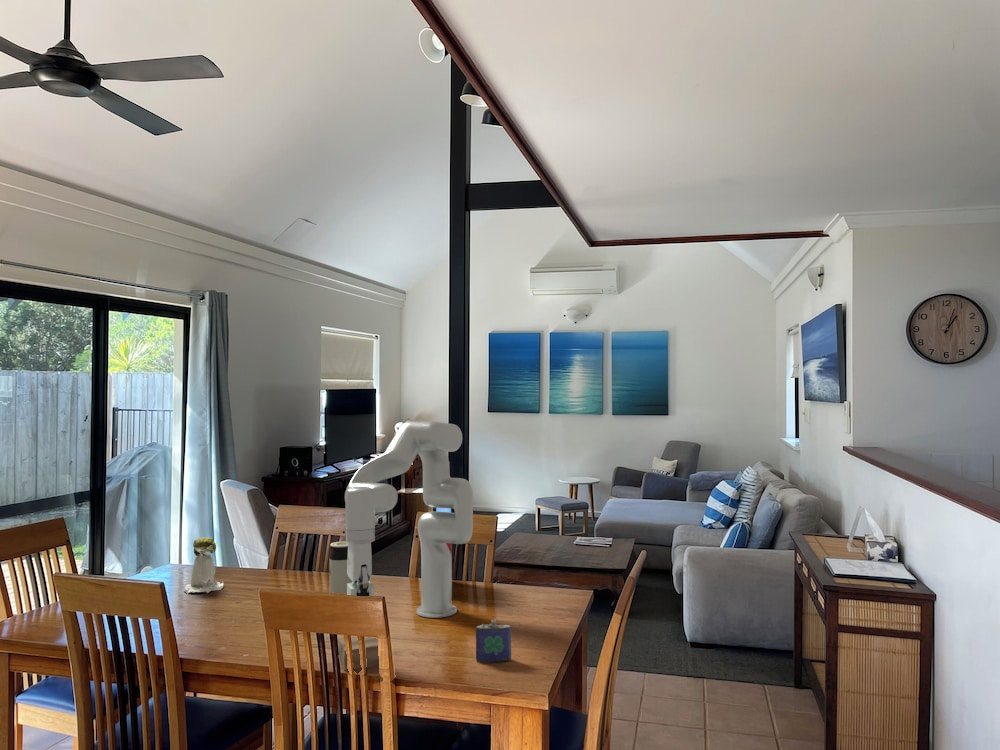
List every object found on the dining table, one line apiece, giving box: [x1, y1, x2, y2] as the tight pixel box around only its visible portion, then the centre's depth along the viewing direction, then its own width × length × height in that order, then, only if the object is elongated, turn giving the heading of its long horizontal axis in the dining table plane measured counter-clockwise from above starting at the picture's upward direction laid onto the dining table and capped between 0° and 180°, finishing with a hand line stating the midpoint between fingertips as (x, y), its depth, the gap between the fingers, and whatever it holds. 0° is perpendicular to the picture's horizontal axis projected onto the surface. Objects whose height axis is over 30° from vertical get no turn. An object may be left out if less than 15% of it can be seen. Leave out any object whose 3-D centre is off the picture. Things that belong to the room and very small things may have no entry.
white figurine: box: [183, 536, 224, 595], centre depth 264 cm, size 12×13×18 cm
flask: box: [475, 618, 512, 664], centre depth 193 cm, size 9×3×11 cm, turn 95°
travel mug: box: [328, 540, 352, 593], centre depth 254 cm, size 8×8×18 cm
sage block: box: [347, 580, 375, 597], centre depth 193 cm, size 6×6×6 cm
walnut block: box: [337, 635, 380, 671], centre depth 193 cm, size 10×10×5 cm
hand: (360, 603), depth 193 cm, fingers closed on sage block, 6 cm apart
